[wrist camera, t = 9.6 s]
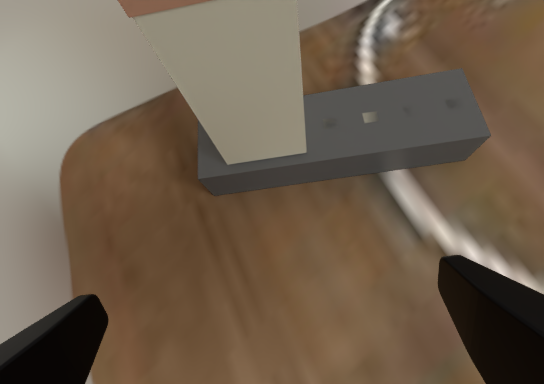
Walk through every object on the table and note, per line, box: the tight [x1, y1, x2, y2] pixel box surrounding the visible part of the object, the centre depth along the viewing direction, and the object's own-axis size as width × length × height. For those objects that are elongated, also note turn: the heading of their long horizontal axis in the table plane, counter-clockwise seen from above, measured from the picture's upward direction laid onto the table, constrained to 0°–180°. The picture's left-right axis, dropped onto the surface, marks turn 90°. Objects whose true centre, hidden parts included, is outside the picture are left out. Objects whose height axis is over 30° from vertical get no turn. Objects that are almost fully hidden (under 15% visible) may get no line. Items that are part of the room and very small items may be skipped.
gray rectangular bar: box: [198, 68, 491, 196], centre depth 16 cm, size 4×14×2 cm, turn 95°
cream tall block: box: [118, 0, 307, 165], centre depth 10 cm, size 3×4×10 cm
